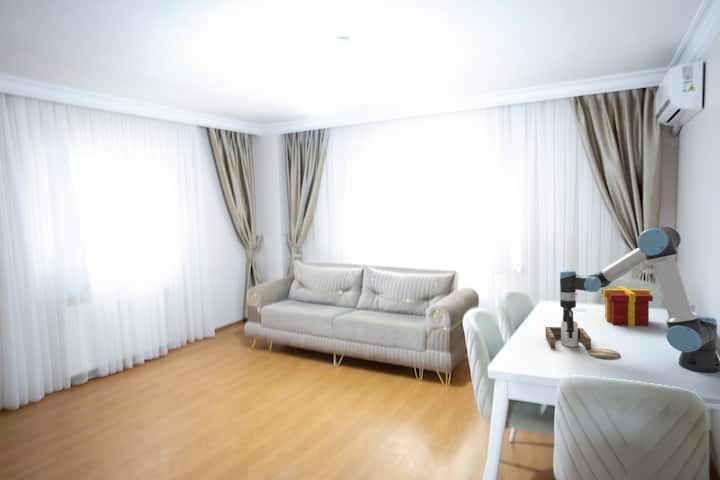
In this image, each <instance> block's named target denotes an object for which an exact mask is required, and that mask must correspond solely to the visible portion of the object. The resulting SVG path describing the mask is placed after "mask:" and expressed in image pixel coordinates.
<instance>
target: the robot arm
mask: <svg viewBox="0 0 720 480" xmlns="http://www.w3.org/2000/svg"><path fill="white" fill-rule="evenodd" d="M681 239H682V238H681V236H680V233H679V231H678V230H677V229H675V228H673V227H669V226H661V227H651V228H648V229H646V230H644V231H642V232H641V233H640V234H639V236H638V237H637V248H635V249H633V250H632V251H631V252H629V253H627V254H626V255H625V256H622V257H621V258H619V259H618V260H616V261H614V262H613V263H611V264H610V265H608V266H607V267H605V268H603V269H601V270H599V271H598V272H596V273H595V274H590V275H578V274H577V273H576V270H573V269H564V270H561V271H560V273H559V286H560V287H559V289H560V290H559V298H560V300H559V306H560V307H561V308H562V309H563V311H562V321H565V322H567V329H568V330H566V332H567V344H573V332H574V325H573V321H574V312H573V309H574V308H576V307H577V301H576V297H577V295H578V294H577V292H576V291H584V292H589V293H592V292H593V293H597V292H599V290H601V289H604V288H606V287H608V286H610V285H611V283H612V282H614V281H616V280H618V279H619V278H621V277H623V276H625V275H627V274H628V273H630V272H632V271H634V270H635V269H637V268H639V267H641V266H642V265H644V264H645V263H648V262H649V263H651V265H652V268H653V271H654V274H655V277H656V280H657V282H658V287H659V290H660V293H661V295H662V296H661V297H662V299H663V302H664V305H665V309H666V312H667V315H668V318H667V319H666V321H665V322H666V325H667V328H668V330H667V332H666V340H667V342H668V343H669V345H670V346H671V347H672V348H673V349H675V350H677V351H679V352H681V353H680V355H679V358H678V365H679V366H681V367H682V368H685V369H687V370H691V371H694V372H695V371H696V372H702V373H719V372H720V358H719V356H718V353H717V345H718V344H717V343H718V342H717V337H718V335H717V332H718V331H717V330H718V322H717V319H716V318H715V317H711V316H706V315H699V314H694V313H693V311H692V308H691V305H690V301H689V299H688V296H687V292H686V289H685V287H684V284H683V283H684V282H683V280H682V278H681V277H682V276H681V274H680V271H679V268H678V265H677V261H676V257H677V256H678V252H677V248H679V246H680V245H681V242H682V241H681Z"/></svg>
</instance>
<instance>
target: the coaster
mask: <svg viewBox="0 0 720 480" xmlns="http://www.w3.org/2000/svg"><path fill="white" fill-rule="evenodd" d="M587 354H588V356H590V357H593V358H595V359H600V360H617V359H620V358H621V353H619V352H618V351H616V350H613V349H609V348H601V347H600V348H591V349H590V350H587Z"/></svg>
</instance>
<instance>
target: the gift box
mask: <svg viewBox="0 0 720 480" xmlns="http://www.w3.org/2000/svg"><path fill="white" fill-rule="evenodd" d="M616 287H617V288H601V294H602V297H603V298H605V299H604V300H605V301H604V302H605V303H604V304H605V305H604V308H605V309H604V310H605V312H604V313H605V314H604V317H605V321H606V323H610V324H611V325H613V326H620V327H621V326H624V327H632V328H634V327H649V326H650V325H649V324H650V323H649V315H650V314H649V313H650V312H649V311H650V306H649V302H653V299H654V296H653V295H651V290H650V289H644V288H643V289H641V288H640V289H639V288H626V287H625V286H623V285H617V286H616Z"/></svg>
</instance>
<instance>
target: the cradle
mask: <svg viewBox="0 0 720 480" xmlns="http://www.w3.org/2000/svg"><path fill="white" fill-rule="evenodd" d="M546 338H547V339H546ZM555 338H561V326H545V339H546V341H547V340H548V341H547V343H548V346H549V347H551V348H550V349H552V348H555V349H556V339H555ZM578 341H580V342H581V344H582V345H583V347H584V348H585V350H586V351H588V350H590V349H592V338H591V337H590V336H589V334H588V333H587V332H586V330H585V329H584V328H583V327H578Z"/></svg>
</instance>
